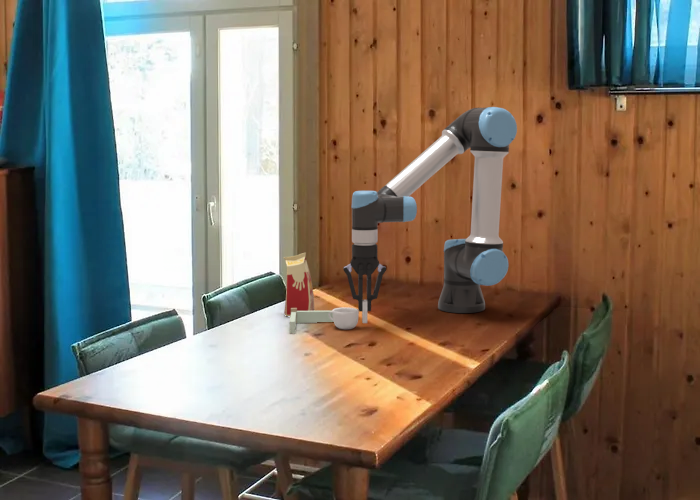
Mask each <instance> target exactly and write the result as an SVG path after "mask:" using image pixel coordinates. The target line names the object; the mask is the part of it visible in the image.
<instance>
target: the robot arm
mask: <svg viewBox="0 0 700 500" xmlns="http://www.w3.org/2000/svg"><path fill="white" fill-rule="evenodd" d="M517 133H518V125H517V122H516V118H515V117H514V116H513V114H512V113H511V112H510V111H508V110H507V109H505V108H503V107H497V106H488V107H473V108H470V109H468V110H467V111H465V112H463V113H462V114H460V115H459V116H458V117H457V118H456V119H454V120H453V121H452V122H451V123H450V124H448V125H447V127H445V128H444V129H443V130H442V131H441V136H439V137H438V139H437V140H435V141H434V142H433V143H432V144H430V146H428V147H427V148H426V149H425V150H423V152H422V153H420V154H419V155H418V156H417V157H416V158H415V159H414V160H412V161H411V162H410V163H409V164H408V165H407V166H405V168H403V169H402V170H401V171H400V172H399V173H398V174H396V175H395V176H394V177H393V178H392V179H391V180H389V182H388V183H386V184H385V185H384V186H382V187H381V188H380V189H379V190H377V191H376V190H356V191H354V192H353V193H352V197H351V242H352V245H351V260H350V262H349V264H347V265H346V266H343V272H344V273H345V274H346V277H347V281H348V285H349V288H350V292H351V293H350V294H351V297H352V299H353V300H356V301H358V308H357V309H358V310H359V312H360V313H361V316H362V317H361V318H362V319H361V322H362V324H368V312H372V301H373V300H377V298H378V297H379V292H380V289H381V288H380V287H381V284H382V280H383V276H384V274H385V272H387V267H386V265H383V264H381V263H380V260H379V259H378V257H379V256H378V244H377V243H378V241H379V240H378V239H379V238H378V237H379V236H378V235H379V234H378V231H379V230H378V229H379V228H378V227H379V226H378V224H382V223H383V224H384V223H405V222H412V221H414V220H415V219H416V216H417V213H418V212H417V211H418V207H417V205H418V204H417V203H416V200H415V198H414V197H412V196H411V195H412V194H414V193H415V192H416V191H417V190H418V189H419V188H420V187H421V186H423V184H425V183H426V182H427V181H428V180H429V179H430V178H431V177H433V176H434V175H435V174H436V173H438V171H439V170H441V169H442V168H443V167H444V166H445V165H446V164H448V163H449V162H450V161H451V160H452V159H454V157H456V156H457V155H462V154H464V153H465V152H467V151H468V150H469V149H470V151H469V152H470V153H471V154H472V155H473V156H474V165H473V166H474V167H473V183H472V184H473V185H472V186H473V187H472V201H471V202H472V203H471V220H470V221H471V223H470V235H469V236H468V237H467V238H458V239H447V240H446V241H445V242H444V246H443V287H442V290H441V293H440V296H439V299H438V301H437V302H438V304H437V309H438V310H439V311H443V312H448V313H455V314H474V313H480V312H483V311H485V309H486V302H485V299H484V294H483V292H482V288H481V286H486V287H487V286H489V287H490V286H494V285H497V284H498V283H500V282H501V281H502V280H503V279H505V276H506V275H507V273H508V270H509V259H508V257H507V255H506V254H505V252H504V251H503V250H504V241H503V239H501V237H500V236H499V233H500V219H501V218H500V217H501V205H502V204H501V200H502V184H503V167H504V166H503V165H504V159H505V157H506V156H507V155H508V154H509V153H510V144H511V143H512V142H513V141H514V140H515V138H516V136H517ZM352 269H353V270H354V272H355V273H356V274H357V278H358V281H357V283H358V284H357V287H358V289H357V290H358V292H357V293H356V288H355V285H354V281H353V277H352V274H351V272H352ZM376 270H377V272H378V273H377V277H376V282H375V284H374V285H375V286H374V289H373V293H372V274H373V273H375V271H376ZM365 275H366V299H364V298H363V297H364V295H363V293H364V292H363V289H364V288H363V287H364V285H363V284H364V283H363V279H364V278H363V277H364V276H365Z"/></svg>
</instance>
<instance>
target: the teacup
mask: <svg viewBox="0 0 700 500" xmlns="http://www.w3.org/2000/svg"><path fill="white" fill-rule="evenodd" d="M332 310H333V311H330V312H329V318H330V319H331V320H332V321H334V323H333V324H334V326H335V327H336V328H337V329H339V330H352V329H354V328H356V326H357V324H358V322H359V316H360V315H359V314H360V313H359V309H358V308H355V307H348V306H347V307H345V306H344V307H335V308H333V309H332ZM330 313H333V318H331V316H330Z"/></svg>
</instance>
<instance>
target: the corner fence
mask: <svg viewBox="0 0 700 500" xmlns="http://www.w3.org/2000/svg"><path fill="white" fill-rule="evenodd" d="M330 311H333V309H332V310H315V311H297V308H291V316H290V317H289V334H290V333H295V334H296V329H297V324H318V323H317V322H334V321H332V320H331V319H330V318H329V312H330ZM330 316H331V318H333V313H330Z"/></svg>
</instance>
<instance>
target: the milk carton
mask: <svg viewBox="0 0 700 500" xmlns="http://www.w3.org/2000/svg"><path fill="white" fill-rule="evenodd" d="M306 254H307V252H303V253H299V254H297V255H292V256H284V257H282V259H284V260H285V264H286V286H285V287H286V288H285V289H286V292H285V301H284V302H285V303H284V313H283V315H284V314H285V315H286V316H291V308H297V311H316V310H315V296H314V290H313V289H314V287H313V283H312V277H311V272H310V268H309V264H308V262H307V261H308V260H307V257H306V256H307V255H306ZM285 315H284V316H285ZM286 316H285V317H286Z"/></svg>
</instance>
